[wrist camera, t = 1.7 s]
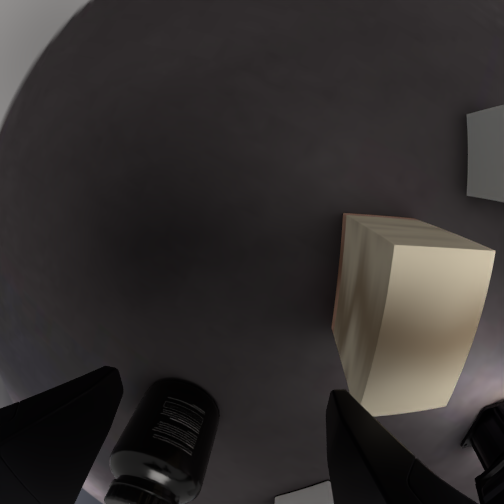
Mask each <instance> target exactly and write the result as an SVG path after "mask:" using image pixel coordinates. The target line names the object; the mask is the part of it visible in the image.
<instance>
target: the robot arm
mask: <svg viewBox="0 0 504 504" xmlns="http://www.w3.org/2000/svg"><path fill="white" fill-rule="evenodd" d="M122 395H123V385H122V381H121V378H120V374H119V371H118V369H117V368H114V367H110V366H104V367H101V368H99V369H97V370H95V371H92V372H90V373H88V374H85V375H83V376H81V377H78V378H76V379H74V380H71V381H69V382H66V383H64V384H62V385H59V386H57V387H54V388H52V389H49V390H47V391H44V392H42V393H40V394H37V395H35V396H32V397H29V398H27V399H24V400H22V401H20V402H17V403H14V404H12V405H9V406H6V407H3V408H0V504H74V503H75V501H76V499H77V497H78V495H79V493H80V491H81V488H82V486H83V484H84V482H85V480H86V478H87V476H88V473H89V471H90V469H91V467H92V465H93V463H94V461H95V459H96V457H97V455H98V453H99V451H100V449H101V447H102V445H103V443H104V441H105V439H106V437H107V435H108V432H109V430H110V428H111V425H112V423H113V420H114V417H115V414H116V412H117V409H118V406H119V403H120V401H121V398H122ZM326 435H327V461H328V468H329V475H330V481H331V488H332V495H333V502H334V504H478V503H476V502H475V501H473V500H472V499H470V498H468V497H467V496H465V495H464V494H462V493H461V492H459V491H458V490H456V489H455V488H453V487H452V486H450V485H449V484H448V483H446V482H445V481H444V480H442V479H441V478H440V477H438V476H437V475H436V474H435V473H433V472H432V471H431V470H430V469H429V468H428V467H426V466H425V465H424V464H423V463H422V462H421V461H420V460H419V459H418V458H416V459H415V456H414V455H413V454H412V453H411V452H410V451H409V450H408V449H407V448H406V447H405V446H403V445H402V444H401V443H400V442H399V441H398V440H397V439H396V438H395V437H394V436H393V435H392V434H391V433H390V432H389V431H388V430H387V429H386V428H385V427H383V426H382V425H381V424H380V423H379V422H378V421H377V420H376V419H375V418H374V417H373V416H372V415H371V414H370V413H369V412H368V411H367V410H366V409H365V408H364V407H363V406H362V405H361V404H360V403H359V402H358V401H357V400H356V399H355V398H354V397H353V396H352V395H351V394H350V393H349V392H347V391H346V390H332V391H331V393H330V397H329V401H328V405H327V410H326ZM471 445H472V447H473V449H474V451H475V452H476V454H477V456H478V458H479V460H480V462H481V464H482V466H483V468H484V470H485V471H484V472H483V473H482V474H481V475H478V476H477V477H476V478H475V482H476V484H475V485H476V489H477V493H478V497H479V501H480V504H504V402H500V403H497V404H494V405H491V406H488V407H485V408H483V409H482V410H481V412H480V414H479V415H478V417H477V419H476V421H475V422H474V424H473V426H472V427H471V429H470V431H469V432H468V434H467V436H466V437H465V439H464V440H463V442H462V443H461V447H462V448H465V447H468V446H471Z"/></svg>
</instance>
